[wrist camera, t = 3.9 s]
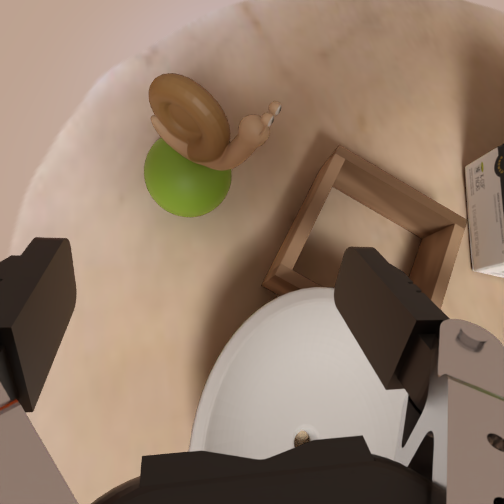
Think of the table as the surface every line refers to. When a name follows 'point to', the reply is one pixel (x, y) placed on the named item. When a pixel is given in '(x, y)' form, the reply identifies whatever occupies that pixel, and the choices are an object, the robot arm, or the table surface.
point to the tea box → (486, 212)
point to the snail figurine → (196, 146)
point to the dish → (294, 384)
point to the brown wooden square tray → (388, 205)
